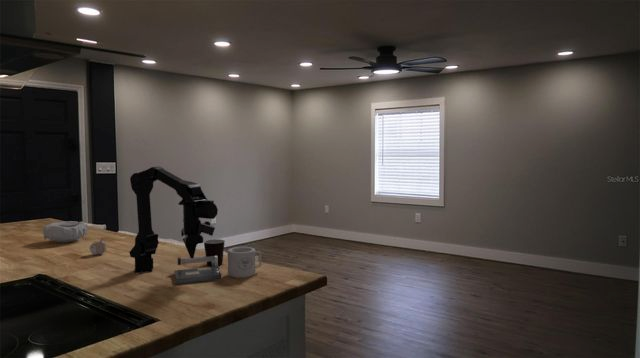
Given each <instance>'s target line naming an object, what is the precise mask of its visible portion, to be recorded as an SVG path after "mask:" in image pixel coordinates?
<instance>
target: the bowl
mask: <svg viewBox="0 0 640 358" xmlns="http://www.w3.org/2000/svg"><path fill="white" fill-rule="evenodd" d="M42 232H43V239H44V241H45V240H47V239H48V240H50V241H53V242H56V243H69V242H70V243H71V242H73V241H77V240H79V239H81V238H83V237H86V236H87V235H88V224H86V223H85V222H84V221H79V222H78V221H72V220H69V221H68V220H66V221H60V222H55V221H54V222H51V223H49V224H47V225H44V226H43V231H42Z"/></svg>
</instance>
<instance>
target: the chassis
mask: <svg viewBox="0 0 640 358" xmlns="http://www.w3.org/2000/svg"><path fill="white" fill-rule="evenodd" d="M173 273H174V274H173V275H174V280H175V283H176V285H183V284H194V283H201V282H202V283H203V282H210V281H211V282H212V281H219V280H220V281H221V280H222V273H221V271H220V270H218V269H217V267H216V266H215V267H212V266H205V267H197V268H186V269H177V270H174V271H173Z"/></svg>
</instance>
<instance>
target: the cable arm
mask: <svg viewBox="0 0 640 358" xmlns="http://www.w3.org/2000/svg"><path fill="white" fill-rule="evenodd" d="M209 261H212V266H211V267H215V266H216V267H217V268H218V267H219V266H218V256H217V255H214V256H206V255H205V256H194V258H190V257H177V266H181V265H184V264H196V263H197V264H198V263H207V262H209Z"/></svg>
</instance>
